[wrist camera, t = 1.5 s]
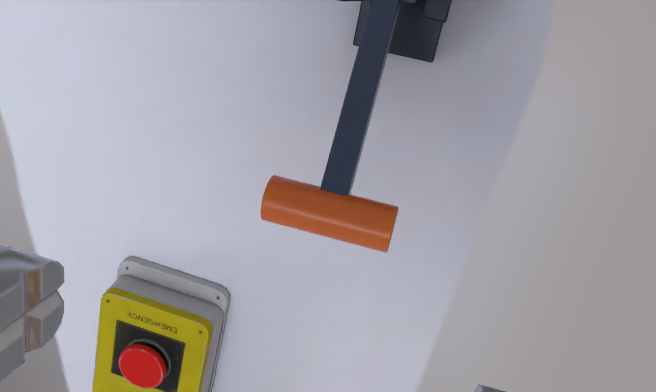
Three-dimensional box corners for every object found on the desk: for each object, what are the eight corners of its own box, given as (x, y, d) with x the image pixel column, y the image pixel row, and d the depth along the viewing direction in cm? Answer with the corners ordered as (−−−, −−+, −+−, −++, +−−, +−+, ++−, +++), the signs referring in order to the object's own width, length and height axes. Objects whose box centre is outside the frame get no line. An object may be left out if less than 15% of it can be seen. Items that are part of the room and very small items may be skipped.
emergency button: (209, 319, 38) (181, 468, 44) (232, 289, 42) (203, 429, 48) (91, 279, 39) (78, 430, 45) (124, 253, 43) (108, 394, 49)
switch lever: (386, 253, 22) (387, 252, 19) (267, 222, 22) (255, 216, 20) (463, -50, 23) (473, -86, 21) (350, -72, 24) (347, -110, 21)
